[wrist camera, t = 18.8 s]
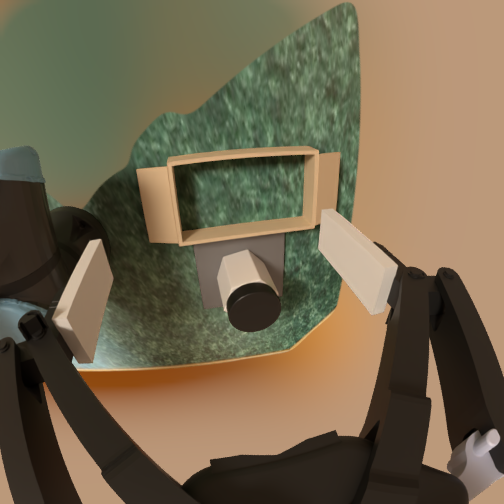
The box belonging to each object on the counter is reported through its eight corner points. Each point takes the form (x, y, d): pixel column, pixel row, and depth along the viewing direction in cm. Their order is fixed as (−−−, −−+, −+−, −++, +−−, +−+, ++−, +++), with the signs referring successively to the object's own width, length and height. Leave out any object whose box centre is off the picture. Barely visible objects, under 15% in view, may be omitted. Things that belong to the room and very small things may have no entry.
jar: (253, 291, 55) (270, 335, 45) (213, 286, 52) (222, 332, 42) (268, 252, 51) (290, 292, 41) (225, 244, 48) (238, 286, 38)
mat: (203, 307, 55) (204, 309, 54) (191, 235, 47) (192, 236, 46) (281, 294, 58) (282, 296, 57) (283, 223, 49) (284, 224, 49)
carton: (152, 238, 45) (149, 251, 42) (138, 162, 39) (133, 168, 35) (328, 216, 51) (339, 225, 47) (333, 146, 44) (345, 150, 41)
